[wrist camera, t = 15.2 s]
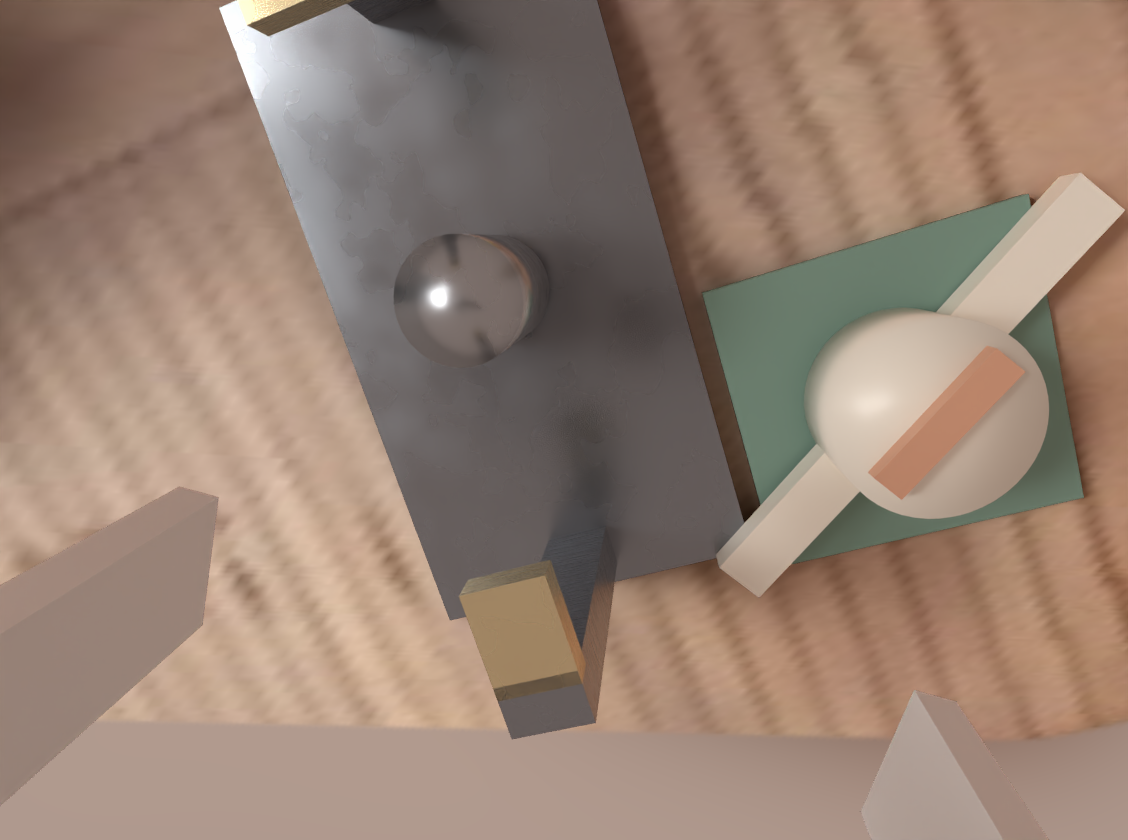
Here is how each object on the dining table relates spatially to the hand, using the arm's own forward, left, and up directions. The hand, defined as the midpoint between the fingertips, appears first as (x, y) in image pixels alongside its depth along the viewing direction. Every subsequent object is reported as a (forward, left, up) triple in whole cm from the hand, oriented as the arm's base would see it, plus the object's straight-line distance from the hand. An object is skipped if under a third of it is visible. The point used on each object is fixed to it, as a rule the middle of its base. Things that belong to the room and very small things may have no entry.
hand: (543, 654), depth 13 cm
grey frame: (-7, -4, -23) cm, 24 cm away
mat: (+3, +12, -23) cm, 26 cm away
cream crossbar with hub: (+3, +12, -22) cm, 26 cm away
